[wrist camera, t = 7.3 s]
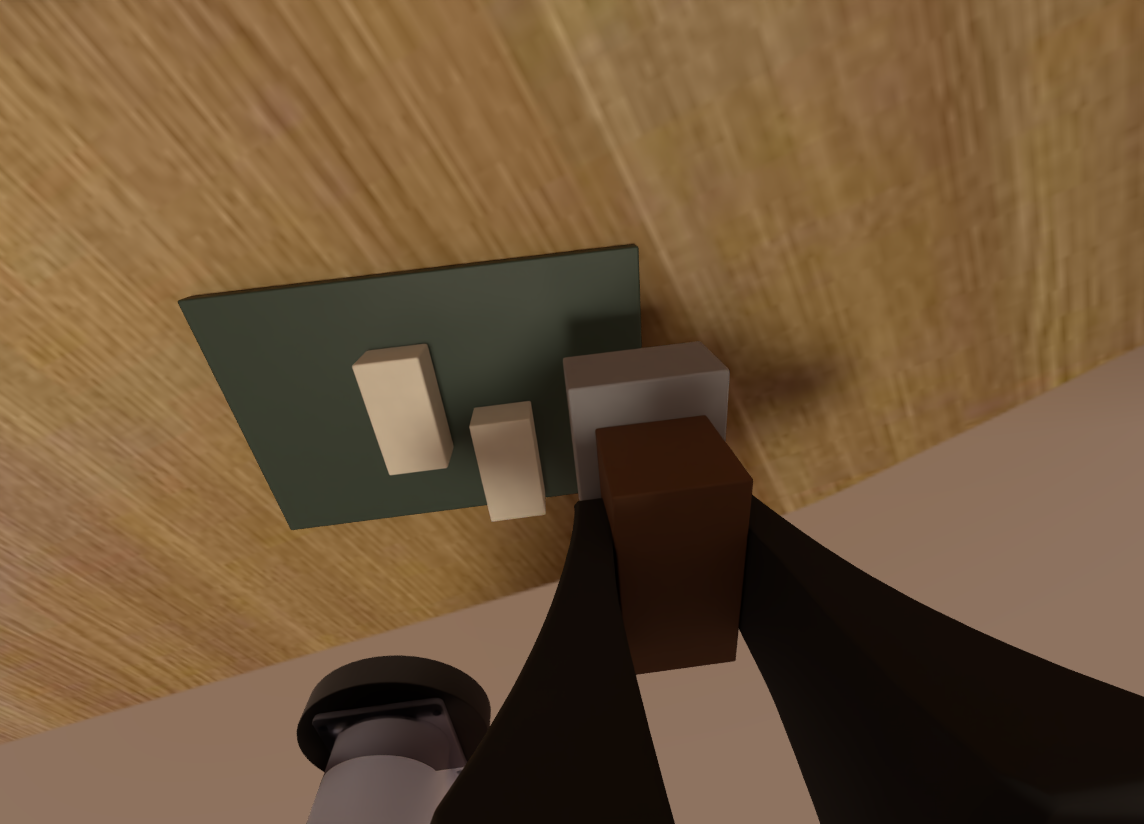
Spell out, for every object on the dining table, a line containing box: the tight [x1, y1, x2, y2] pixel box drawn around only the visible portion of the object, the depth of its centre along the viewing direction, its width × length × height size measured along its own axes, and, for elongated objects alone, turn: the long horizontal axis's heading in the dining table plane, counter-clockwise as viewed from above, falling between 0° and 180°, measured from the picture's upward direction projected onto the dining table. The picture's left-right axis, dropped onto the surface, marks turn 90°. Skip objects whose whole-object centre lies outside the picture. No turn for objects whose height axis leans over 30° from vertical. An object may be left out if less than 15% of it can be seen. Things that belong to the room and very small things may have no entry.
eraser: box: [563, 341, 753, 675], centre depth 11 cm, size 7×4×4 cm, turn 6°
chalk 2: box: [469, 401, 546, 522], centre depth 16 cm, size 4×2×1 cm, turn 6°
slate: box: [178, 244, 642, 530], centre depth 16 cm, size 9×14×1 cm, turn 96°
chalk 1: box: [352, 344, 454, 475], centre depth 15 cm, size 4×2×1 cm, turn 6°
